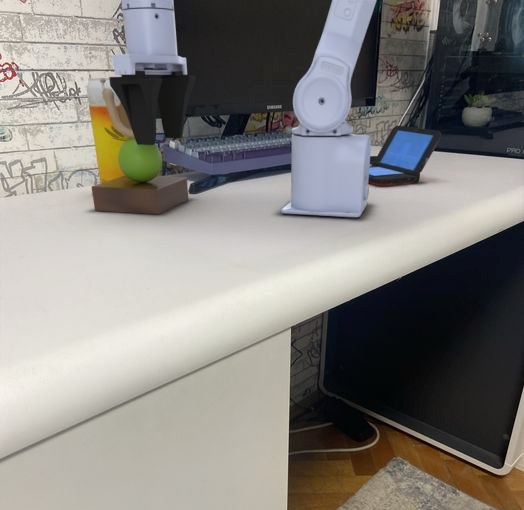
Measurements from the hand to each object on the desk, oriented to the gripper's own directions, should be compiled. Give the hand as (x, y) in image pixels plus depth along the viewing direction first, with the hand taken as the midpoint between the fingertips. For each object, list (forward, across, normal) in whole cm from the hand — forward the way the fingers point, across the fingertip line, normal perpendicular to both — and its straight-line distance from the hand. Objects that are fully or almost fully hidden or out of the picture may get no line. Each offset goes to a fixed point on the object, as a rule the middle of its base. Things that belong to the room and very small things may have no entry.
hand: (160, 141), depth 66 cm
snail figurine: (+5, 0, -3) cm, 6 cm away
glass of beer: (+8, -7, -10) cm, 15 cm away
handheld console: (+8, -28, +26) cm, 39 cm away
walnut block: (+8, 0, -3) cm, 9 cm away
